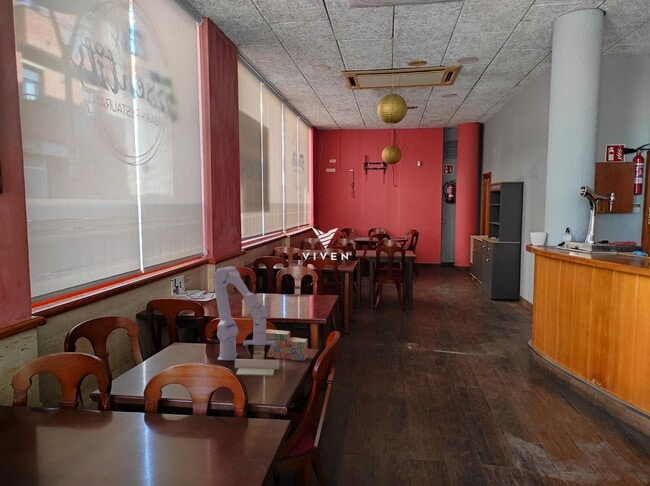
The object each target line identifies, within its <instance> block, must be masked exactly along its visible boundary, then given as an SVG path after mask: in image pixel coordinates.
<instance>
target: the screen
mask: <svg viewBox="0 0 650 486" xmlns="http://www.w3.org/2000/svg"><path fill="white" fill-rule="evenodd" d="M239 368H257V369H274V370H280V359H266V360H262V359H252V358H251V359H250V358H249V359H248V358H235V360H234V369H239Z"/></svg>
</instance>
